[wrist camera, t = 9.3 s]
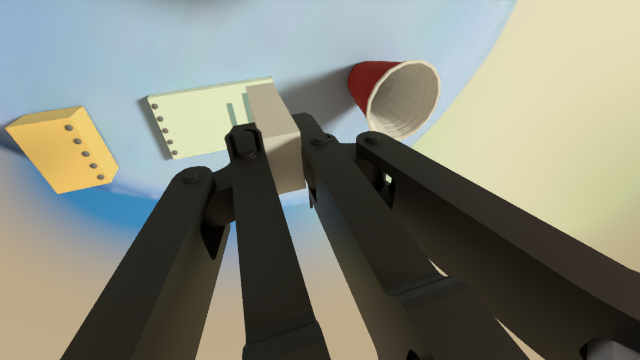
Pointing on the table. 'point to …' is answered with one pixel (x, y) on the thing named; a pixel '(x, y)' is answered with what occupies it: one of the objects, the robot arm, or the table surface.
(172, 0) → the table surface
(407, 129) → the plastic cup
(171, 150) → the pale green flat block
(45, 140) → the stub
